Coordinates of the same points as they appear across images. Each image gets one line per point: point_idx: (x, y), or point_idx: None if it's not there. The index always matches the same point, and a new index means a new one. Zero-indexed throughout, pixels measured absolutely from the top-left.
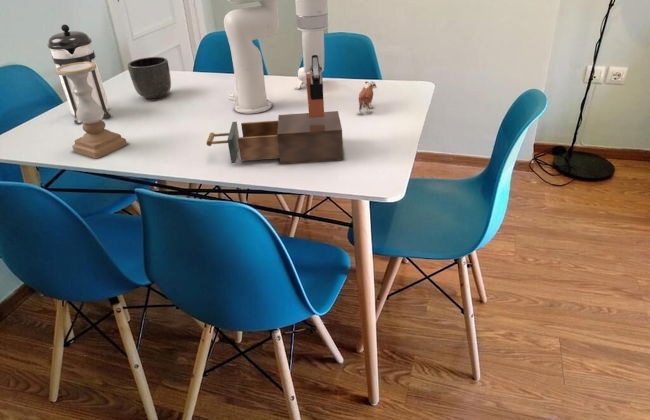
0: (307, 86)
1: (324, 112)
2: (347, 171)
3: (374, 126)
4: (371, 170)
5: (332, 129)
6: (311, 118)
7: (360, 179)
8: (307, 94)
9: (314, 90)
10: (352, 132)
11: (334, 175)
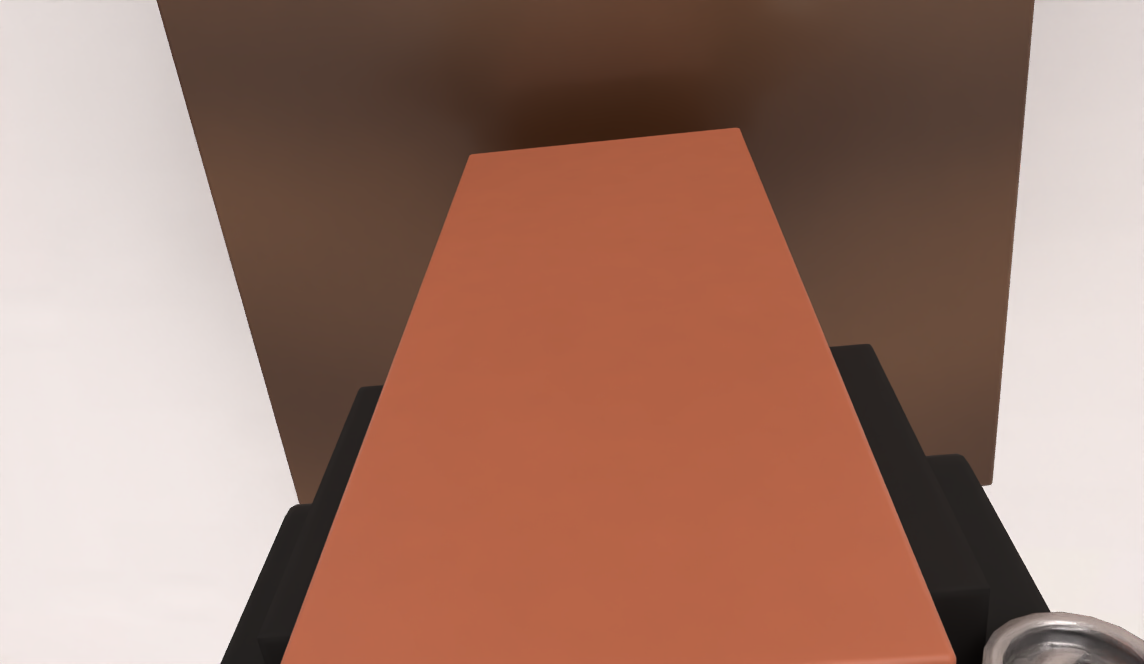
0: (343, 505)
1: (977, 313)
2: (160, 376)
3: (1135, 602)
4: (205, 546)
5: (307, 434)
6: (748, 130)
7: (35, 469)
8: (675, 292)
9: (259, 617)
10: (1043, 420)
11: (63, 272)
